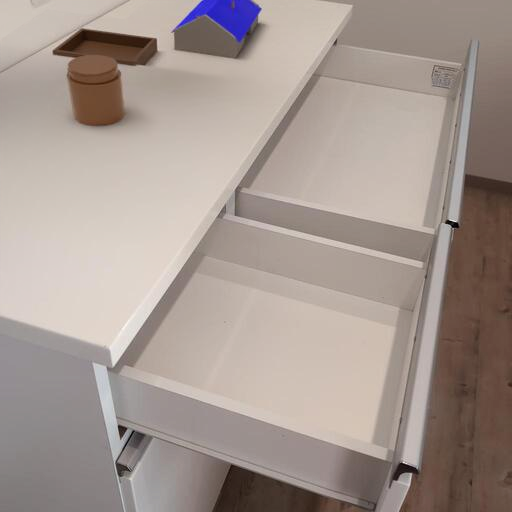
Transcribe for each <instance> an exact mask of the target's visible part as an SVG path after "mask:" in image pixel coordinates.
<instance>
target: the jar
mask: <svg viewBox="0 0 512 512" xmlns="http://www.w3.org/2000/svg"><path fill="white" fill-rule="evenodd" d="M66 80H67V87H68V94H69V99H70V104H71V111H72V115H73V116H72V117H73V119H74V120H75V121H76V122H77V123H79V124H82V125H85V126H91V127H103V126H104V127H105V126H110V125H113V124H116V123H118V122H121V121H122V120H123V119H124V118H125V116H126V108H125V97H124V89H123V80H122V72H121V70H120V69H119V66H118V64H117V62H116V61H115V60H114V59H113V58H110V57H107V56H102V55H86V56H80V57H77V58H74V57H73V58H72V59H71V60H70V61H68V62H67V73H66Z"/></svg>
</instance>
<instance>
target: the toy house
mask: <svg viewBox="0 0 512 512" xmlns="http://www.w3.org/2000/svg"><path fill="white" fill-rule="evenodd" d="M262 10H263V8H262V7H260V4H258V3H257V2H256V1H254V0H200V1H199V3H198V4H197V5H196V6H195V7H194V8H193V9H192V10H191V11H190V12H189V13H188V14H187V15H186V16H185V17H184V18H183V19H182V20H181V21H180V22H179V23H178V24H177V25H176V27H175V28H174V29H172V31H170V33H173V42H174V43H173V44H174V50H176V51H182V52H183V51H184V52H189V53H195V54H196V53H197V54H203V55H211V56H218V57H224V58H231V59H236V58H237V57H238V55H239V53H240V52H241V50H242V49H243V47H244V45H245V36H246V34H251V35H252V33H253V31H254V29H255V27H256V26H257V25H258V24H259V14H260V13H261V11H262Z"/></svg>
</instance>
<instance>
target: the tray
mask: <svg viewBox="0 0 512 512" xmlns="http://www.w3.org/2000/svg"><path fill="white" fill-rule="evenodd" d="M51 51H52V55H53V56H61V57H68V58H73V59H74V58H77V57H80V56H86V55H102V56H107V57H110V58H113V59H114V60H115V61H116V62H117V65H125V66H131V67H135V66H146V64H147V63H148V62H149V61H150V60H151V59H152V58H153V56H155V55H156V53H157V52H158V38H157V37H150V36H141V35H135V34H127V33H121V32H112V31H105V30H97V29H89V28H83V27H82V28H80V29H78V30H77V31H76V32H75V33H73V34H72V35H70V36H69V37H68V38H67V39H65V40H64V41H63V42H62V43H60V44H59V45H58V46H56V47H55V48H53V50H51Z"/></svg>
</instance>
